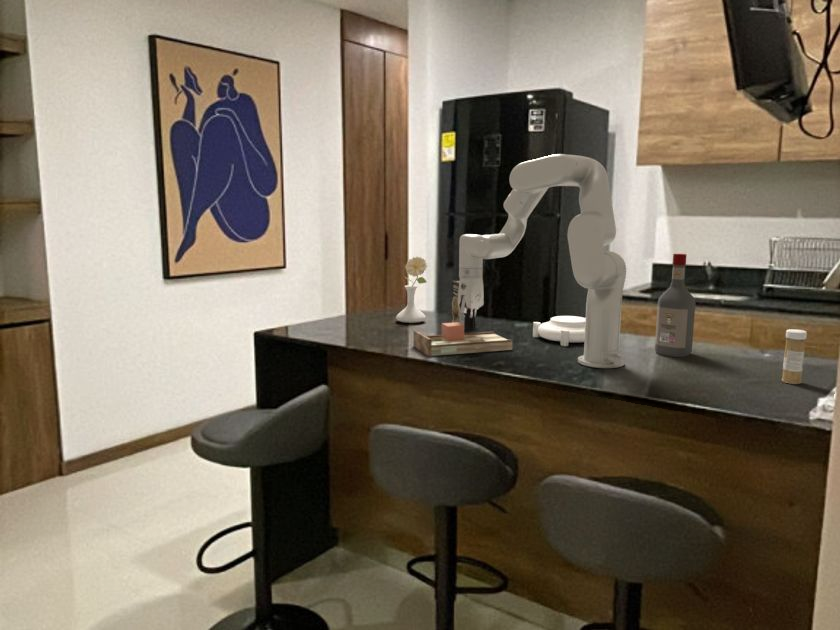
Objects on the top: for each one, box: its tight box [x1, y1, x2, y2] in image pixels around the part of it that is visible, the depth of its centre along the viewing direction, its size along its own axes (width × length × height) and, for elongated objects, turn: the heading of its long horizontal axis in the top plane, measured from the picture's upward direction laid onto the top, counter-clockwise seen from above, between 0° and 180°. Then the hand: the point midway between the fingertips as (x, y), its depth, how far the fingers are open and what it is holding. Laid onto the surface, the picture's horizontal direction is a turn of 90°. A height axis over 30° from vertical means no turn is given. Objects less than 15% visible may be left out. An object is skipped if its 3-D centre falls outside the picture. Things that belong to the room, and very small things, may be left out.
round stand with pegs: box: [532, 315, 585, 347], centre depth 220 cm, size 24×24×7 cm
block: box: [441, 322, 465, 341], centre depth 208 cm, size 6×6×4 cm
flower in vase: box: [395, 256, 428, 324], centre depth 247 cm, size 13×11×25 cm
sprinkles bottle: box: [781, 328, 808, 385], centre depth 167 cm, size 5×5×13 cm
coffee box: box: [451, 280, 464, 325], centre depth 243 cm, size 9×6×16 cm
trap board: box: [413, 330, 513, 357], centre depth 206 cm, size 14×28×5 cm, turn 109°
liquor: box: [654, 253, 696, 358], centre depth 197 cm, size 9×9×30 cm
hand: (469, 328), depth 216 cm, fingers closed
